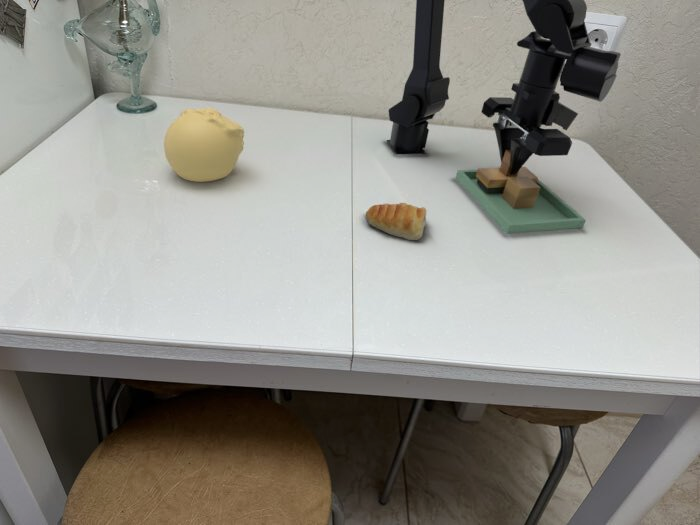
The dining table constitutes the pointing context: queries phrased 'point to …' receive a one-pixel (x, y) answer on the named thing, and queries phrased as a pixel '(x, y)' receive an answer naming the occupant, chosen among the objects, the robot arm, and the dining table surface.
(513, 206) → the wooden cube
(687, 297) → the dining table surface
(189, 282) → the dining table surface
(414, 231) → the pastry
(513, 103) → the robot arm
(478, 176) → the wooden stamp
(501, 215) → the tray
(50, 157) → the dining table surface
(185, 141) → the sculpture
